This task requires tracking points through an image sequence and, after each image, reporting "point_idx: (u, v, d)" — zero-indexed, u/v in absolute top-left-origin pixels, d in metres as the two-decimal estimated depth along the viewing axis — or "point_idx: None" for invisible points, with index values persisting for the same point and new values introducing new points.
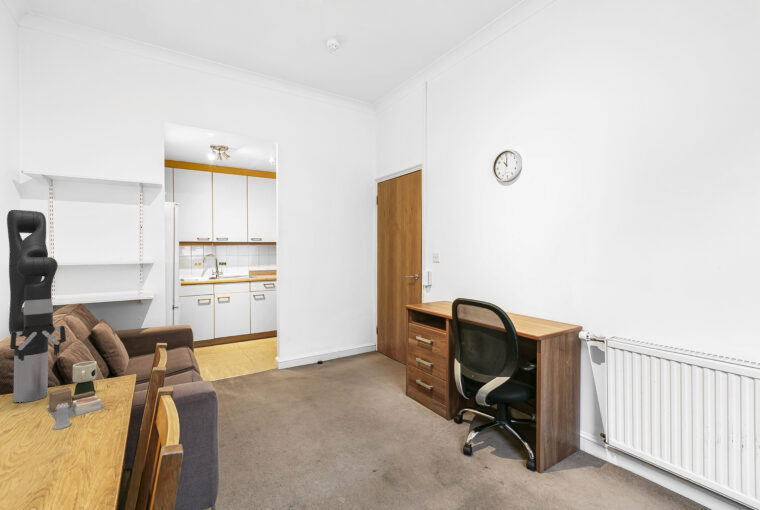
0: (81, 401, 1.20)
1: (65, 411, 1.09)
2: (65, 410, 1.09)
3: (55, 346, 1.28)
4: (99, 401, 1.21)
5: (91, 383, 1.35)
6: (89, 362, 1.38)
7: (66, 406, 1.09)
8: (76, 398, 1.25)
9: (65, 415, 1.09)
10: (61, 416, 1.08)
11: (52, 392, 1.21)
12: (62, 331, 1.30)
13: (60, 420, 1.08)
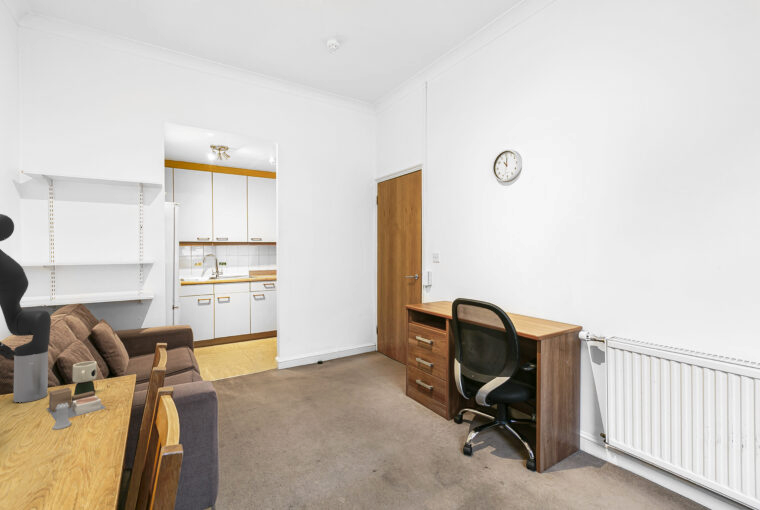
0: (81, 401, 1.20)
1: (65, 411, 1.09)
2: (65, 410, 1.09)
3: None
4: (99, 401, 1.21)
5: (91, 383, 1.35)
6: (89, 362, 1.38)
7: (66, 406, 1.09)
8: (76, 398, 1.25)
9: (65, 415, 1.09)
10: (61, 416, 1.08)
11: (52, 392, 1.21)
12: None
13: (60, 420, 1.08)
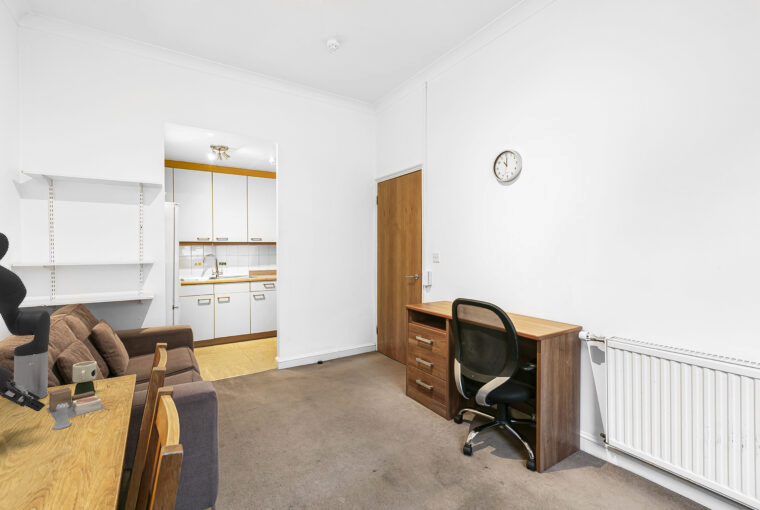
0: (81, 401, 1.20)
1: (65, 411, 1.09)
2: (65, 410, 1.09)
3: None
4: (99, 401, 1.21)
5: (91, 383, 1.35)
6: (89, 362, 1.38)
7: (66, 406, 1.09)
8: (76, 398, 1.25)
9: (65, 415, 1.09)
10: (61, 416, 1.08)
11: (52, 392, 1.21)
12: None
13: (60, 420, 1.08)
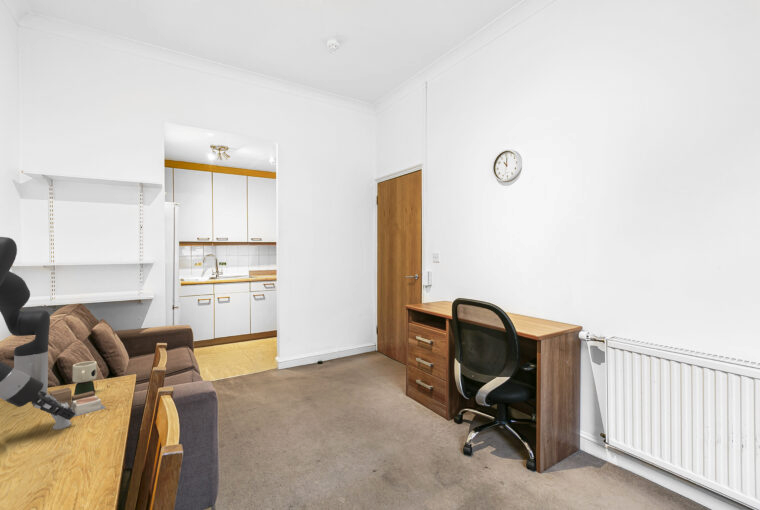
0: (81, 401, 1.20)
1: None
2: None
3: None
4: (99, 401, 1.21)
5: (91, 383, 1.35)
6: (89, 362, 1.38)
7: (66, 406, 1.09)
8: (76, 398, 1.25)
9: None
10: None
11: (52, 392, 1.21)
12: (45, 410, 1.02)
13: (60, 420, 1.08)
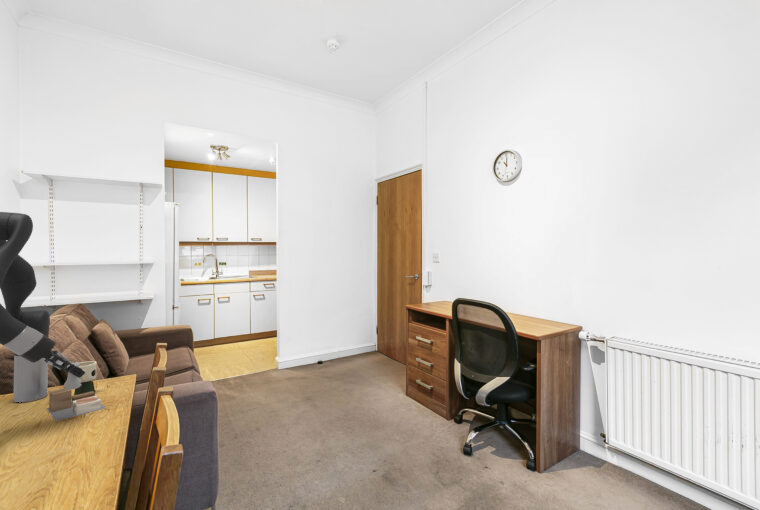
0: (81, 401, 1.20)
1: None
2: None
3: None
4: (99, 401, 1.21)
5: (91, 383, 1.35)
6: (89, 362, 1.38)
7: (76, 365, 1.14)
8: (76, 398, 1.25)
9: None
10: (72, 374, 1.13)
11: (52, 392, 1.21)
12: (57, 367, 1.07)
13: (71, 378, 1.13)
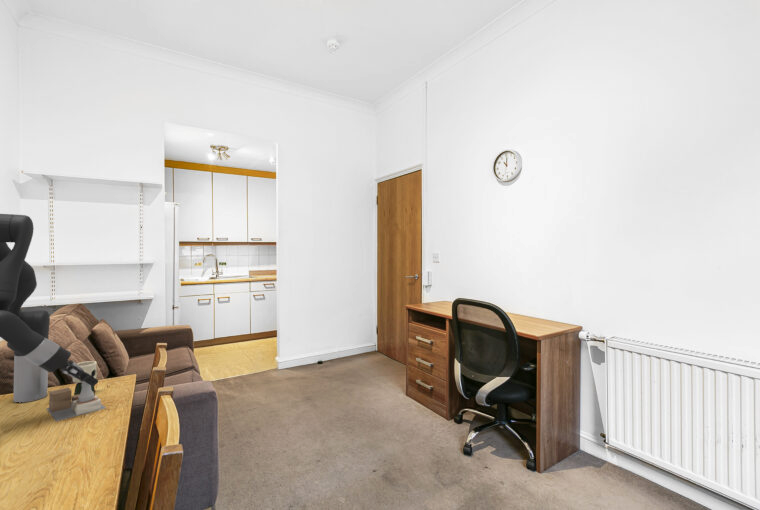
0: None
1: None
2: None
3: None
4: (99, 401, 1.21)
5: None
6: (89, 362, 1.38)
7: None
8: (76, 398, 1.25)
9: (89, 386, 1.21)
10: (86, 387, 1.20)
11: (52, 392, 1.21)
12: (72, 375, 1.14)
13: (85, 391, 1.20)
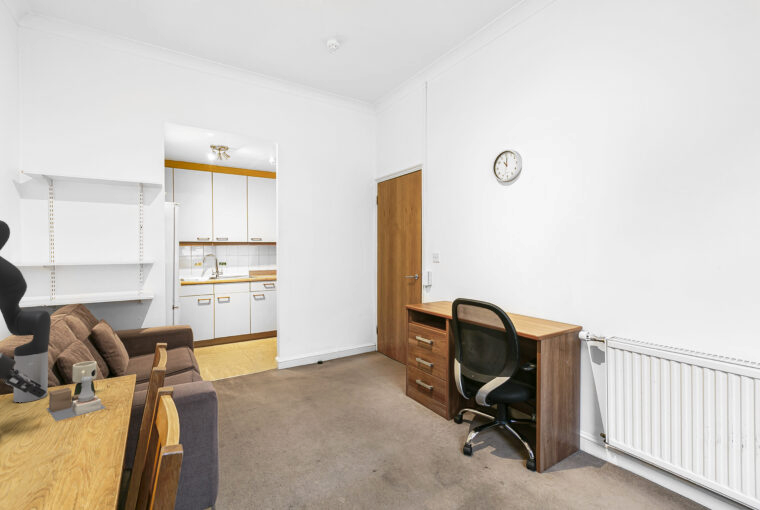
0: None
1: (89, 383, 1.21)
2: (89, 382, 1.21)
3: None
4: (99, 401, 1.21)
5: (91, 383, 1.35)
6: (89, 362, 1.38)
7: (90, 378, 1.21)
8: (76, 398, 1.25)
9: (89, 386, 1.21)
10: (86, 387, 1.20)
11: (52, 392, 1.21)
12: (13, 385, 1.03)
13: (85, 391, 1.20)
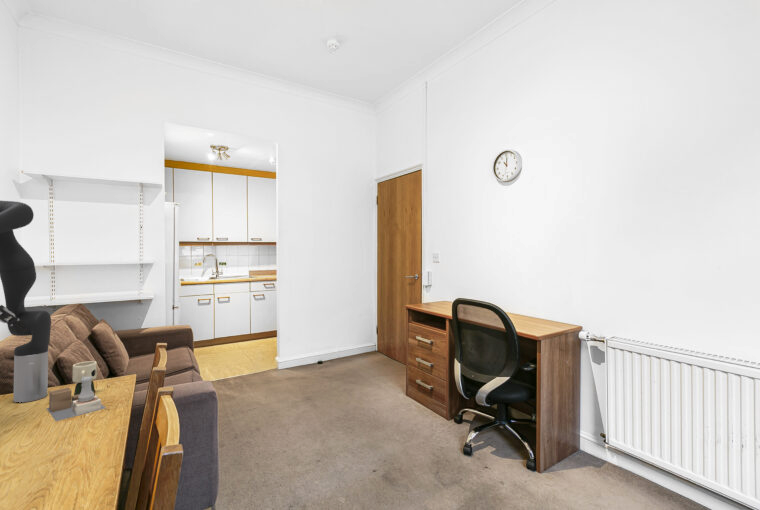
0: None
1: (89, 383, 1.21)
2: (89, 382, 1.21)
3: (13, 326, 1.08)
4: (99, 401, 1.21)
5: (91, 383, 1.35)
6: (89, 362, 1.38)
7: (90, 378, 1.21)
8: (76, 398, 1.25)
9: (89, 386, 1.21)
10: (86, 387, 1.20)
11: (52, 392, 1.21)
12: None
13: (85, 391, 1.20)
